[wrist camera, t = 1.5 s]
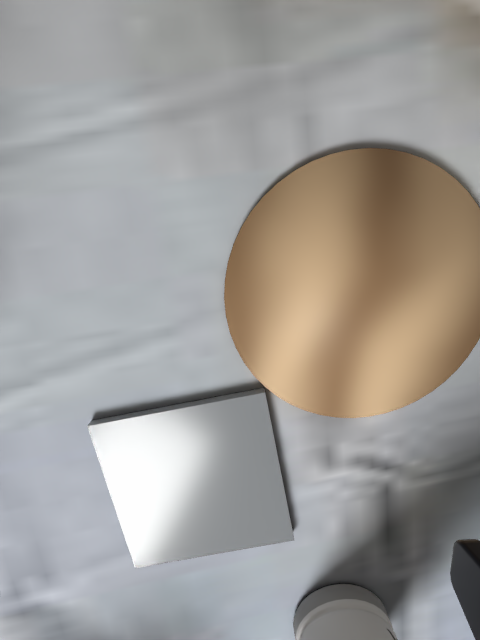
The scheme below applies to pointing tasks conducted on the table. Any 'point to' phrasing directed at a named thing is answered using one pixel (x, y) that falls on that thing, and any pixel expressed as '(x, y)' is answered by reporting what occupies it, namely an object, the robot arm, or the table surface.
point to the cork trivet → (357, 283)
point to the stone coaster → (194, 478)
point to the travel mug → (342, 615)
